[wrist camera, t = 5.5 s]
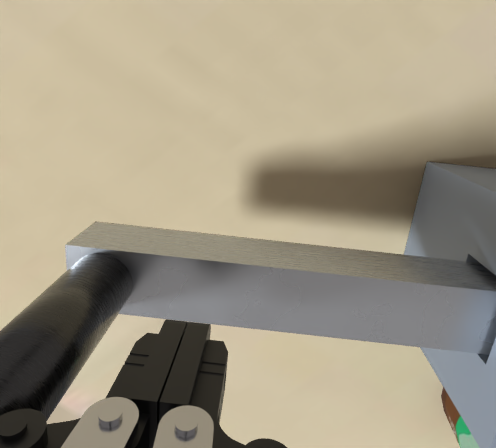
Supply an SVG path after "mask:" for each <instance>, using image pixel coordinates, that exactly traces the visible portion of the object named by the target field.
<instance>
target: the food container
mask: <svg viewBox="0 0 496 448" xmlns="http://www.w3.org/2000/svg"><path fill="white" fill-rule="evenodd" d="M441 398H442V403H443V408H444V412H445V414H446V416H447V418H448V421H449V423H450V425H451V427H452V430H453V432H454V434H455V436H456V438H457V441H458V443H459V445H460V447H461V448H480V447H479V446H478V444H477V442H476V441H475V439H474V437H473V436H472V434H471V432H470V431H469V429H468V427H467V426H466V424H465V422H464V420H463V419H462V417H461V415H460V414H459V412H458V410H457V409H456V407H455V405H454V404H453V402H452V400H451V399H450V397H449V395H448V393H447V392H446V390H445V388H444V387H443V390H442V395H441Z"/></svg>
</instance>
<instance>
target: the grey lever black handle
mask: <svg viewBox="0 0 496 448" xmlns="http://www.w3.org/2000/svg"><path fill="white" fill-rule="evenodd" d="M65 248H66V264H67V271H66V272H65V273H64V274H63V275H62V276H61V277H60V278H59V279H57V280H56V281H55V282H54V283H53V284H52V285H51V286H50V287H49V288H47V289H46V290H45V291H44V292H43V293H42V294H41V295H40V296H39V297H38V298H36V299H35V300H34V301H33V302H32V303H31V304H30V305H29V306H28V307H26V308H25V309H24V310H23V311H22V312H21V313H20V314H19V315H18V316H16V317H15V318H14V319H13V320H12V321H11V322H10V323H9V324H8V325H6V326H5V327H4V328H3V329H2V330H1V331H0V416H1V415H3V414H5V413H7V412H10V411H13V410H18V409H34V410H37V411H39V412H41V413H42V414H43V415H44V416H45V418H46V421H47V420H48V418H49V417H50V415H51V414H52V412H53V411H54V409H55V408H56V406H57V405H58V403H59V402H60V400H61V399H62V397H63V396H64V394H65V393H66V391H67V390H68V388H69V387H70V385H71V384H72V382H73V381H74V379H75V378H76V376H77V375H78V373H79V372H80V370H81V369H82V367H83V366H84V364H85V363H86V361H87V360H88V358H89V357H90V355H91V354H92V352H93V351H94V349H95V348H96V346H97V345H98V343H99V342H100V340H101V339H102V337H103V336H104V334H105V333H106V331H107V330H108V328H109V327H110V325H111V324H112V322H113V321H114V319H115V318H116V316H117V315H118V314H125V315H135V316H144V317H153V318H162V319H171V320H180V321H189V322H198V323H207V324H216V325H225V326H234V327H243V328H252V329H261V330H270V331H279V332H288V333H297V334H306V335H315V336H324V337H333V338H342V339H351V340H360V341H369V342H378V343H387V344H396V345H405V346H414V347H423V348H432V349H441V350H450V351H459V352H468V353H477V354H486V355H490V352H491V349H492V346H493V344H494V341H495V338H496V276H495V275H494V274H493V273H492V272H491V271H489V270H488V269H487V268H486V267H484V266H483V265H482V264H481V263H476V262H467V261H458V260H449V259H439V258H430V257H421V256H411V255H402V254H393V253H384V252H374V251H365V250H356V249H347V248H337V247H328V246H319V245H309V244H300V243H291V242H282V241H272V240H263V239H254V238H244V237H235V236H226V235H217V234H207V233H198V232H189V231H179V230H170V229H161V228H152V227H142V226H133V225H124V224H114V223H105V222H94V223H93V224H92V225H91V226H89V227H88V228H87V229H85V230H84V231H83V232H81V233H80V234H79V235H77V236H76V237H75V238H74V239H72V240H71V241H70V242H68V243H67V244H66V245H65Z"/></svg>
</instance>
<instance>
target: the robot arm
mask: <svg viewBox="0 0 496 448" xmlns="http://www.w3.org/2000/svg"><path fill="white" fill-rule="evenodd" d="M210 330H211V325H210V324H203V323H194V322H185V321H176V320H167V319H166V320H165V322H164V324H163V326H162V328H161V330H160V332H159V334H153V333H147V334H145V335H144V336H143V337H142V338H140V339H139V340H138V341H136V343H135V345H134V347H133V348H132V350H131V352H130V355H129V356H128V358H127V360H126V361H125V365H123V367H122V369H121V371H120V372H119V374H118V376H117V378H116V380H115V382H114V384H113V385H112V387H111V389H110V391H109V393H108V395H107V396H106V398H105V399H103V400H100V401H98V402H96V403H94V404H93V405H92V406H90V407H89V408H88V409H87V410H86V412H85V413H84V414H83V416H82V417H81V418H79V419H76V420H72V421H66V422H60V423H53V424H47V423H46V418H45V416H44V415H43V414H42V413H41V412H39V411H37V410H34V409H18V410H13V411H10V412H7V413H5V414H3V415H1V416H0V448H287V447H286V446H284V445H283V444H282V443H280V442H278V441H275V440H272V439H256V440H253V441H251V442H249V443H248V444H246V445H244V444H241V443H239V442H237V441H235V440H233V439H231V438H230V437H229V436H227V435H226V434H225V433H224V431H223V430H222V429H221V427H220V425H219V422H220V416H221V410H222V403H223V397H224V391H225V381H226V370H227V359H228V351H227V349H226V346H225V344H224V342H223V341H215V340H210Z"/></svg>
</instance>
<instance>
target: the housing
mask: <svg viewBox="0 0 496 448" xmlns="http://www.w3.org/2000/svg"><path fill="white" fill-rule="evenodd" d="M404 255H411V256H421V257H430V258H439V259H449V260H458V261H467V262H476V263H481V264H482V265H483V266H484V267H486V268H487V269H488V270H489V271H491V272H492V273H493V274H494V275H495V276H496V169H493V168H483V167H474V166H464V165H454V164H445V163H435V162H427V164H426V168H425V172H424V176H423V180H422V184H421V188H420V192H419V196H418V200H417V204H416V208H415V212H414V216H413V220H412V224H411V228H410V232H409V236H408V240H407V244H406V248H405V252H404ZM420 348H421V350H422V351H423V353H424V355H425V356H426V358H427V360H428V361H429V363H430V365H431V366H432V368H433V370H434V372H435V373H436V375H437V377H438V378H439V380H440V382H441V383H442V385H443V387H444V388H445V390H446V392H447V393H448V395H449V397H450V399H451V400H452V402H453V404H454V405H455V407H456V409H457V410H458V412H459V414H460V415H461V417H462V419H463V420H464V422H465V424H466V426H467V427H468V429H469V431H470V432H471V434H472V436H473V437H474V439H475V441H476V442H477V444H478V446H479V447H480V448H496V338H495V341H494V344H493V346H492V349H491V352H490V355H486V354H477V353H468V352H459V351H450V350H441V349H432V348H423V347H420Z"/></svg>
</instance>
